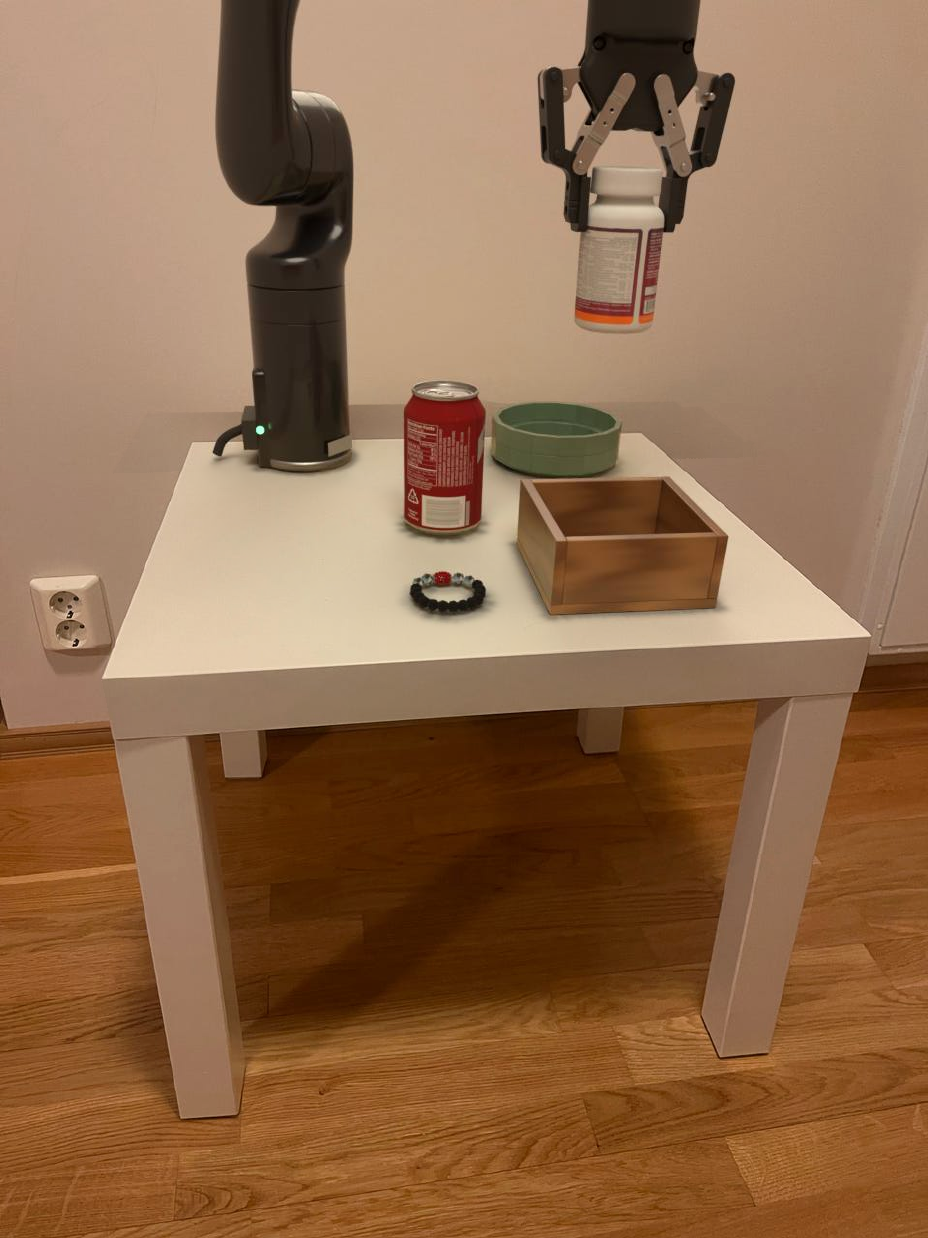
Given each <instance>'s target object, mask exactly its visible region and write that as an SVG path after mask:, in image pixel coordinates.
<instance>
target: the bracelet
mask: <svg viewBox="0 0 928 1238" xmlns="http://www.w3.org/2000/svg"><path fill="white" fill-rule="evenodd" d="M452 581H453V582H454V583H455V584H457V585H459V584H464V585H465V586H466V587H471V588H472V589H473V595H472V596H468V597H467V598H466V599H460V600H459V601H456V600H450V601H447V600H443V599H442V600H437V599H435V598H429V596H426V594H425V593H424V592H422V591H423V585H426V586H430V585H431V584H432V583H435V584H437V585H442V586H443V585H448V584H450V583H452ZM486 593H487V588H486V586H485V585H484V583H483V581H482V580H480V579H475V577H473V575H471V574H470V575H465V576H464V573H461V572H458V571H457V572H456V573H454V574H453V575H452V573H451V572H449V571H445V570H444V571H443V570H441V571H437V572H434V573H432V574H431V573H424V574H423V575H422V576H420V577H415V578H413V579H412V584H411V585H410V591H409V595H410V597H411V598H412V599H413V601H414V602H415V603H416V604H418V605H419V607H420V608H422V609H426V608H427V610H429V611H431V612H434V611H436V610H438V612H440V613H446V612H450V613H458V611H460V612H467V610H468V609H470V610H473V609H476V608H477V607H478V606H481V605H482V604H483V602H484V598H485V597H486Z"/></svg>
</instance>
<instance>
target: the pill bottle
mask: <svg viewBox="0 0 928 1238" xmlns="http://www.w3.org/2000/svg"><path fill="white" fill-rule="evenodd" d="M663 174H664V170H663V169H662V168H657V167H656V168H655V167H643V166H613V165H612V166H610V165H608V166H607V165H606V166H605V165H604V166H603V165H602V166H593V167H592V170H591V185H590V194H594V195H596V198H595V201H594V202H593V203H591V204H589V210H588V222H587V230H586V232H580V234H579V248H578V260H577V273H576V274H577V275H576V289H575V301H574V302H575V303H574V323H575V325H576V326H577V327H579V328H580V329H582V330H584V331H588V332H591V333H599V334H600V333H601V334H615V335H617V334H618V335H622V334H623V335H624V334H639V333H643V332H646V331H648V330H649V329H650V328H651V327H652V325H653V322H654V315H655V309H656V299H657V293H658V292H657V291H658V282H659V272H660V264H661V256H662V246H663V238H664V233H663V230H664V214H663V212H662V210H661V209H660V208H659V207H658V205H656V203H655V202H654V198H655V197H660V194H661V183H662V177H663Z"/></svg>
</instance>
